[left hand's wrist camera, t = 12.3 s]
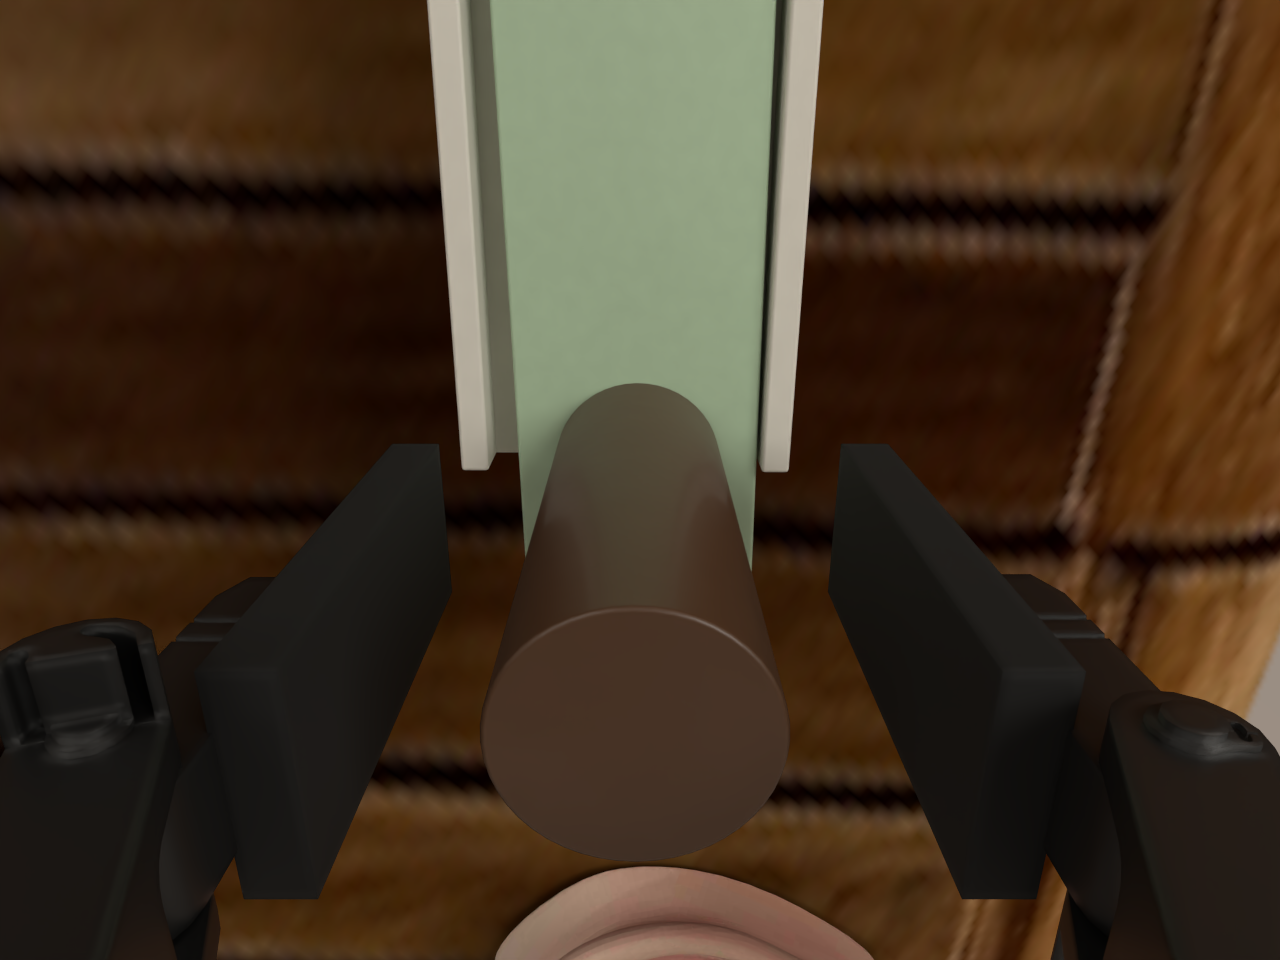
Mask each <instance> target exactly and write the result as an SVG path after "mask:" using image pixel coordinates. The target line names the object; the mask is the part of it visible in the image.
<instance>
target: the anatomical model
mask: <svg viewBox="0 0 1280 960" xmlns="http://www.w3.org/2000/svg"><path fill="white" fill-rule="evenodd" d="M495 960H874V959H873V958H872V957H871V955H870V954H869V953H868V952H867V951H866V950H865V949H864V948H863V947H861V946H860V945H859V944H858V943H856V942H855V941H854V940H853V939H851V938H850V937H849V936H847V935H846V934H844V933H843V932H841V931H840V930H838V929H837V928H835V927H833V926H832V925H830V924H828V923H827V922H825V921H823V920H821V919H820V918H818V917H816V916H814V915H812V914H811V913H809V912H807V911H805V910H804V909H802V908H800V907H798V906H796V905H794V904H792V903H790V902H788V901H786V900H784V899H782V898H780V897H778V896H776V895H773V894H771V893H768V892H766V891H764V890H761V889H759V888H756V887H754V886H751V885H749V884H746V883H743V882H739V881H736V880H733V879H730V878H727V877H724V876H720V875H716V874H711V873H706V872H701V871H696V870H689V869H682V868H672V867H631V868H620V869H616V870H611V871H606V872H603V873H600V874H597V875H594V876H591V877H589V878H586V879H583V880H581V881H579V882H578V883H576V884H574V885H572V886H570V887H568V888H566V889H564V890H563V891H561V892H560V893H558V894H557V895H555V896H554V897H552V898H551V899H549V900H548V901H547V902H545V903H544V904H542V905H541V906H539V907H538V908H537V909H536V910H535V911H533V912H532V913H531V914H530V915H528V916H527V917H526V918H525V919H524V920H523V921H522V922H521V923H520V924H519V925H518V926H517V927H516V928H515V929H514V930H513V931H512V932H511V933H510V934H509V935H508V936H507V938H506V939H505V940H504V942H503V943H502V944H501V946H500V948H499V950H498V952H497V954H496V958H495Z"/></svg>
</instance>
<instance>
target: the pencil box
mask: <svg viewBox="0 0 1280 960" xmlns="http://www.w3.org/2000/svg"><path fill="white" fill-rule="evenodd" d="M823 2H824V0H776V20H775V43H774V66H773V89H772V112H771V135H770V158H769V181H768V204H767V227H766V250H765V273H764V295H763V318H762V341H761V364H760V387H759V410H758V433H757V459H758V461H759V464H760V467H761V469H762V471H763V472H787V471H788V469H789V457H790V443H791V430H792V417H793V403H794V390H795V376H796V363H797V350H798V336H799V323H800V310H801V296H802V283H803V270H804V256H805V243H806V229H807V216H808V203H809V189H810V176H811V163H812V149H813V136H814V123H815V109H816V96H817V83H818V69H819V56H820V42H821V29H822V16H823ZM427 7H428V20H429V33H430V47H431V60H432V74H433V87H434V100H435V114H436V127H437V141H438V154H439V167H440V181H441V194H442V208H443V221H444V234H445V248H446V261H447V275H448V288H449V301H450V315H451V328H452V341H453V355H454V368H455V382H456V395H457V408H458V422H459V435H460V449H461V462H462V468H463V470H488V469H489V467H490V465H491V463H492V460H493V458H494V456H495V454H496V452H519V450H518V434H517V419H516V403H515V388H514V372H513V357H512V341H511V326H510V310H509V295H508V279H507V264H506V248H505V233H504V217H503V202H502V186H501V171H500V155H499V140H498V124H497V109H496V93H495V78H494V62H493V47H492V31H491V16H490V0H427Z"/></svg>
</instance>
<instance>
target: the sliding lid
mask: <svg viewBox="0 0 1280 960" xmlns="http://www.w3.org/2000/svg"><path fill="white" fill-rule="evenodd" d="M490 16H491V31H492V47H493V62H494V78H495V93H496V109H497V124H498V140H499V155H500V171H501V186H502V202H503V217H504V233H505V248H506V264H507V279H508V295H509V310H510V326H511V341H512V357H513V372H514V388H515V403H516V419H517V434H518V450H519V465H520V481H521V496H522V512H523V527H524V543H525V561H524V564H523V568H522V571H521V575H520V578H519V582H518V585H517V589H516V592H515V596H514V599H513V603H512V606H511V610H510V613H509V617H508V620H507V624H506V627H505V631H504V634H503V638H502V641H501V645H500V648H499V652H498V655H497V659H496V662H495V666H494V669H493V673H492V676H491V680H490V683H489V687H488V690H487V694H486V697H485V701H484V704H483V708H482V715H481V722H480V743H481V749H482V754H483V759H484V762H485V765H486V768H487V771H488V774H489V776H490V778H491V780H492V782H493V784H494V786H495V788H496V790H497V792H498V793H499V795H500V796H501V797H502V799H503V800H504V802H505V803H506V804H507V806H508V807H509V808H510V809H511V810H512V811H513V812H514V813H515V814H516V815H517V816H518V818H520V819H521V820H522V821H523V822H524V823H526V824H527V825H528V826H529V827H530V828H532V829H533V830H534V831H536V832H538V833H539V834H541V835H542V836H544V837H545V838H547V839H549V840H551V841H553V842H555V843H557V844H559V845H561V846H563V847H565V848H568V849H570V850H573V851H576V852H579V853H581V854H585V855H589V856H593V857H597V858H603V859H610V860H616V861H636V862H637V861H655V860H661V859H668V858H674V857H678V856H681V855H685V854H689V853H692V852H695V851H698V850H700V849H703V848H705V847H708V846H710V845H712V844H714V843H716V842H718V841H720V840H722V839H724V838H726V837H727V836H729V835H730V834H732V833H733V832H735V831H736V830H738V829H739V828H740V827H742V826H743V825H744V824H745V823H746V822H747V821H749V820H750V819H751V818H752V817H753V816H754V815H755V814H756V813H757V812H758V811H759V809H760V808H761V807H762V806H763V805H764V804H765V803H766V801H767V800H768V798H769V797H770V795H771V794H772V792H773V791H774V789H775V787H776V785H777V783H778V781H779V779H780V777H781V775H782V772H783V769H784V766H785V763H786V760H787V756H788V750H789V743H790V721H789V715H788V709H787V704H786V700H785V697H784V693H783V689H782V685H781V682H780V678H779V674H778V670H777V667H776V663H775V659H774V655H773V651H772V648H771V644H770V640H769V636H768V633H767V629H766V625H765V621H764V617H763V614H762V610H761V606H760V602H759V599H758V595H757V591H756V587H755V584H754V580H753V576H752V572H751V571H752V548H753V525H754V502H755V479H756V456H757V433H758V410H759V387H760V364H761V341H762V318H763V295H764V273H765V250H766V227H767V204H768V181H769V158H770V135H771V112H772V89H773V66H774V43H775V20H776V0H490Z"/></svg>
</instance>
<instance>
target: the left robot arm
mask: <svg viewBox="0 0 1280 960" xmlns="http://www.w3.org/2000/svg"><path fill="white" fill-rule="evenodd" d="M451 593H452V587H451V576H450V565H449V554H448V543H447V531H446V520H445V509H444V498H443V487H442V476H441V464H440V453H439V444H392V445H391V446H390V447H389V448H388V450H387V451H386V452H385V453H384V454H383V455H382V456H381V458H380V459H379V460H378V461H377V462H376V463H375V464H374V466H373V467H372V468H371V469H370V470H369V471H368V472H367V474H366V475H365V476H364V477H363V478H362V479H361V480H360V482H359V483H358V484H357V485H356V486H355V487H354V488H353V490H352V491H351V492H350V493H349V494H348V495H347V496H346V498H345V499H344V500H343V501H342V502H341V503H340V505H339V506H338V507H337V508H336V509H335V510H334V511H333V513H332V514H331V515H330V516H329V517H328V518H327V519H326V521H325V522H324V523H323V524H322V525H321V526H320V527H319V529H318V530H317V531H316V532H315V533H314V534H313V535H312V537H311V538H310V539H309V540H308V541H307V542H306V543H305V545H304V546H303V547H302V548H301V549H300V550H299V552H298V553H297V554H296V555H295V556H294V557H293V558H292V560H291V561H290V562H289V563H288V564H287V565H286V566H285V568H284V569H283V570H282V571H281V572H280V573H279V574H278V576H277V577H250V578H248V579H246V580H244V581H242V582H241V583H239V584H237V585H235V586H233V587H232V588H230V589H228V590H226V591H224V592H223V593H221V594H219V595H217V596H216V597H215V598H214V599H213V600H212V601H211V602H210V603H209V604H208V605H207V606H206V607H205V608H204V609H203V610H202V611H201V612H200V613H199V614H198V615H197V616H196V617H195V618H194V623H189V624H188V625H187V626H186V627H185V628H184V630H183V631H182V632H181V633H180V634H179V635H178V636H177V637H176V642H171V643H170V644H169V645H168V646H167V647H166V648H165V649H164V650H163V651H162V652H161V653H160V654H159V655H158V656H157V651H156V647H155V643H154V639H153V635H152V630H151V629H149V628H148V627H146V626H145V625H143V624H142V623H140V622H139V621H133V620H127V619H120V618H106V619H91V620H84V621H79V622H75V623H70V624H66V625H61V626H56V627H53V628H50V629H48V630H45V631H42V632H40V633H37V634H34V635H31V636H29V637H26V638H23V639H21V640H20V641H18V642H16V643H14V644H13V645H11V646H9V647H7V648H5V649H4V650H2V651H0V735H1V738H2V741H3V744H4V747H5V750H4V752H3V754H2V756H1V758H0V960H216V957H217V950H218V943H219V935H220V922H219V915H218V909H217V905H216V901H215V897H214V890H215V889H216V887H217V885H218V883H219V882H220V880H221V878H222V877H223V875H224V873H225V871H226V870H227V868H228V866H229V865H230V863H231V861H232V859H233V858H234V856H235V861H236V866H237V870H238V875H239V879H240V884H241V888H242V893H243V897H244V899H318V898H319V895H320V893H321V891H322V889H323V886H324V884H325V882H326V879H327V877H328V875H329V873H330V870H331V868H332V866H333V863H334V861H335V859H336V856H337V854H338V852H339V850H340V847H341V845H342V843H343V840H344V838H345V836H346V834H347V831H348V829H349V827H350V824H351V822H352V820H353V817H354V815H355V813H356V811H357V808H358V806H359V804H360V801H361V799H362V797H363V795H364V792H365V790H366V788H367V785H368V783H369V781H370V778H371V776H372V774H373V772H374V769H375V767H376V765H377V762H378V760H379V758H380V756H381V753H382V751H383V749H384V746H385V744H386V742H387V739H388V737H389V735H390V733H391V730H392V728H393V726H394V723H395V721H396V719H397V717H398V714H399V712H400V710H401V707H402V705H403V703H404V700H405V698H406V696H407V694H408V691H409V689H410V687H411V684H412V682H413V680H414V678H415V675H416V673H417V671H418V668H419V666H420V664H421V661H422V659H423V657H424V655H425V652H426V650H427V648H428V645H429V643H430V641H431V638H432V636H433V634H434V632H435V629H436V627H437V625H438V622H439V620H440V618H441V616H442V613H443V611H444V609H445V606H446V604H447V602H448V599H449V597H450V595H451ZM828 593H829V595H830V597H831V600H832V602H833V604H834V606H835V609H836V611H837V613H838V616H839V618H840V620H841V622H842V625H843V627H844V629H845V632H846V634H847V636H848V639H849V641H850V643H851V645H852V648H853V650H854V652H855V655H856V657H857V659H858V661H859V664H860V666H861V668H862V671H863V673H864V675H865V678H866V680H867V682H868V684H869V687H870V689H871V691H872V694H873V696H874V698H875V700H876V703H877V705H878V707H879V710H880V712H881V714H882V717H883V719H884V721H885V723H886V726H887V728H888V730H889V733H890V735H891V737H892V739H893V742H894V744H895V746H896V749H897V751H898V753H899V756H900V758H901V760H902V762H903V765H904V767H905V769H906V772H907V774H908V776H909V778H910V781H911V783H912V785H913V788H914V790H915V792H916V795H917V797H918V799H919V801H920V804H921V806H922V808H923V811H924V813H925V815H926V817H927V820H928V822H929V824H930V827H931V829H932V831H933V834H934V836H935V838H936V840H937V843H938V845H939V847H940V850H941V852H942V854H943V857H944V859H945V861H946V863H947V866H948V868H949V870H950V873H951V875H952V877H953V879H954V882H955V884H956V886H957V889H958V891H959V893H960V896H961V898H962V899H1036V897H1037V893H1038V888H1039V884H1040V879H1041V875H1042V870H1043V865H1044V861H1045V856H1046V853H1047V855H1048V857H1049V859H1050V860H1051V862H1052V864H1053V865H1054V867H1055V869H1056V870H1057V872H1058V874H1059V876H1060V877H1061V879H1062V881H1063V882H1064V884H1065V886H1066V888H1067V892H1066V897H1065V901H1064V905H1063V909H1062V914H1061V918H1060V922H1059V926H1058V930H1057V935H1056V939H1055V943H1054V947H1053V952H1052V956H1051V960H1280V756H1279V754H1278V752H1277V750H1276V749H1275V747H1274V746H1273V745H1272V744H1271V743H1270V742H1269V740H1268V739H1267V738H1266V737H1265V736H1264V735H1263V733H1262V732H1261V731H1260V730H1259V729H1257V728H1256V727H1254V726H1253V725H1251V724H1250V723H1248V722H1247V721H1245V720H1244V719H1242V718H1241V717H1239V716H1238V715H1236V714H1235V713H1233V712H1230V711H1228V710H1226V709H1224V708H1221V707H1219V706H1217V705H1214V704H1212V703H1210V702H1207V701H1205V700H1202V699H1198V698H1194V697H1190V696H1186V695H1182V694H1178V693H1175V692H1163V691H1160V690H1159V689H1158V688H1157V687H1156V686H1155V685H1154V684H1153V683H1152V682H1151V681H1150V680H1149V679H1148V678H1147V677H1146V676H1145V675H1144V674H1143V673H1142V672H1141V671H1140V670H1139V669H1138V668H1137V667H1136V666H1135V665H1134V664H1133V662H1132V661H1131V660H1130V659H1129V658H1128V657H1127V656H1126V655H1125V654H1124V653H1123V652H1122V651H1121V650H1120V649H1119V648H1118V647H1117V646H1116V645H1115V644H1114V643H1113V642H1112V641H1111V640H1110V639H1105V637H1104V633H1103V632H1102V631H1101V630H1100V629H1099V628H1098V627H1097V626H1096V625H1095V624H1094V623H1093V622H1092V621H1091V620H1087V619H1086V615H1085V614H1084V613H1083V611H1082V610H1081V609H1080V608H1079V607H1078V606H1077V605H1076V604H1075V603H1074V602H1073V601H1072V600H1071V599H1070V598H1069V597H1068V596H1067V595H1066V594H1065V593H1063V592H1061V591H1060V590H1058V589H1056V588H1054V587H1052V586H1051V585H1049V584H1047V583H1045V582H1043V581H1041V580H1040V579H1038V578H1036V577H1034V576H1032V575H1031V574H1001V573H1000V572H999V571H998V570H997V569H996V568H995V566H994V565H993V564H992V563H991V562H990V561H989V560H988V558H987V557H986V556H985V555H984V554H983V553H982V552H981V550H980V549H979V548H978V547H977V546H976V545H975V544H974V542H973V541H972V540H971V539H970V538H969V537H968V535H967V534H966V533H965V532H964V531H963V530H962V529H961V527H960V526H959V525H958V524H957V523H956V522H955V521H954V519H953V518H952V517H951V516H950V515H949V514H948V513H947V511H946V510H945V509H944V508H943V507H942V506H941V505H940V503H939V502H938V501H937V500H936V499H935V498H934V497H933V495H932V494H931V493H930V492H929V491H928V490H927V488H926V487H925V486H924V485H923V484H922V483H921V482H920V480H919V479H918V478H917V477H916V476H915V475H914V474H913V472H912V471H911V470H910V469H909V468H908V467H907V466H906V464H905V463H904V462H903V461H902V460H901V459H900V458H899V456H898V455H897V454H896V453H895V452H894V451H893V450H892V448H891V447H890V446H889V445H888V444H841V453H840V464H839V475H838V487H837V498H836V509H835V520H834V531H833V542H832V554H831V565H830V576H829V587H828Z"/></svg>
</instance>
